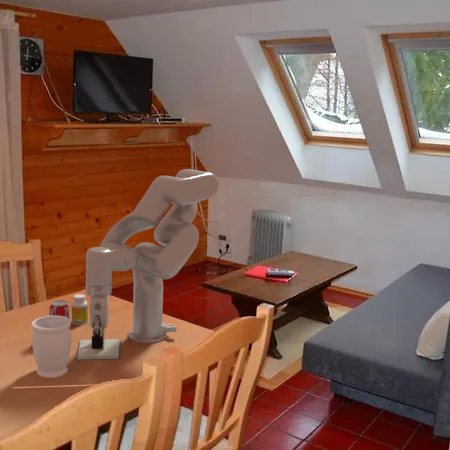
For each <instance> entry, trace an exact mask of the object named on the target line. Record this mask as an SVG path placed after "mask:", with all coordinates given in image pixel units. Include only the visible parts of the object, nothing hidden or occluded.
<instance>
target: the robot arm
mask: <svg viewBox="0 0 450 450" xmlns="http://www.w3.org/2000/svg"><path fill="white" fill-rule="evenodd" d="M219 188H220V183H219V179H218V177H217V176H216V175H215V174H214V173H212V172H210V171H209V172H208V171H202V170H197V169H191V168H186V169H185V168H184V169H181V170H179V171H178V172H177V173H176V175H175V176H171V175H159V176H157V177H155V179H154V180H153V181H152V183H151V184H150V186H149V188H148V189H147V190H146V191H145V193H144V195H143V196H142V198H141V199H140V201H139V202H138V204H137V205H136V207H135V208H134V210H133V211H131V212H130V213H129V214H127V215H126V216H124V217H123V218H122V219H120V220H119V221H117V222H116V223H114V224H113V225H112V227H111V228H110V229H109V230H108V232H107V233H106V235H105V236H104V238H103V239H102V240H101V243H100V244H99V246H95V247H91V248H90V247H89V248H88V249H87V250H86V253H85V294H86V296H89V322H90V324H89V325H90V328H91V329H92V333H91V334H92V335H91V340H92V349H102V348H103V336H102V327H103V328H104V334H105V331H106V330H105V329H107V328H108V324H109V296H111V295H112V279H113V278H112V277H113V276H112V273H113V272H126V271H130V270H132V276H133V277H132V278H133V293H132V294H133V297H132V298H133V301H132V303H133V307H132V308H133V309H132V310H133V311H132V315H133V316H132V328H131V329H130V330H129V331H128V333H127V334H128V335H127V336H128V338H129V340H130V341H133V342H136V343H140V344H154V343H158V342H161V341H163V340H165V339H166V338H167V336H168V335H167V334H168V333H176V332H177V326H176V325H173V323H168V324H165V323H164V320H163V310H164V309H163V307H164V306H163V305H164V304H163V301H164V300H163V299H164V281H163V280H168V279H172V278H173V277H175V276H176V275H177V274H178V273H179V271H180V270H181V269H182V267H183V266H184V265H185V264H186V263H187V261H188V259H189V258H190V257H191V255H192V254H193V253H194V251H195V250H196V248H197V246H198V244H199V240H200V233H199V229H198V228H197V226H196V225H195V224H193V221H194V220H195V219H196V216H197V213H198V203H199V202H203V201H206V200H208V199H211V198H213V197H214V196H215V195H216V194H217V192H218V190H219ZM171 204H172V206H171V208H170V205H171ZM168 208H170V209H169V210H168ZM167 210H168V211H167ZM166 211H167V213H166ZM165 213H166V214H165ZM153 228H155V229H154V232H153V238H154V240H155V241H156V243H158V244H156V243H152V242H147V241H146V242H145V241H144V242H140V243H138V244H137V245H136V246H135V247H134V248H133V247H131V246H130V245H125V243H127V242H126V241H127V240H129V239H130V238H131V237H132V236H133V235H135V234H138V233H140V232H144V231H146V230H150V229H153ZM99 329H100V330H99Z"/></svg>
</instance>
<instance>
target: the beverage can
mask: <svg viewBox="0 0 450 450" xmlns="http://www.w3.org/2000/svg"><path fill="white" fill-rule="evenodd" d="M48 308H49V315H48V316H63V317H67V318H68V319H70V320H71V314H70V313H71V311H70V310H71V309H70V308H71V307H70V305H69V303H68V301H67V300H54V301H51V304H50V306H49V307H48ZM69 329H70V330H71V326H70V327H69Z"/></svg>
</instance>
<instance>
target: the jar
mask: <svg viewBox="0 0 450 450" xmlns="http://www.w3.org/2000/svg"><path fill="white" fill-rule="evenodd" d="M71 324H72V320H71V318H70V319H68V318H67V317H63V316H49V315H46V316H42V317H38V318H35V319H34V320H33V321H32V322H31V327H32V329H33V332H32V336H31V337H32V340H31V343H32V345H31V346H32V351H33V357H34V361H35V364H36V366H37V370H36V374H37V375H38V376H40V377H42V378H46V379H47V378H48V379H51V378H58V377H62V376H64V375H65V374H66V373H68V371H69V368H68V366H67V365H68V364H69V363H68V362H69V360H70V355H71V354H70V353H71V349H72V333H71ZM69 327H70V329H69Z"/></svg>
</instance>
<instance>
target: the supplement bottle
mask: <svg viewBox="0 0 450 450" xmlns="http://www.w3.org/2000/svg"><path fill="white" fill-rule="evenodd" d="M88 307H89V306H88V301H87V300H86V295H85V294H82V293H78V294H75V295H73V301H72V302H71V324H73V325H76V326H80V325H82V326H83V325H86V324H87V323H88V322H89V320H88V319H89V312H88V311H89V309H88Z"/></svg>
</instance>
